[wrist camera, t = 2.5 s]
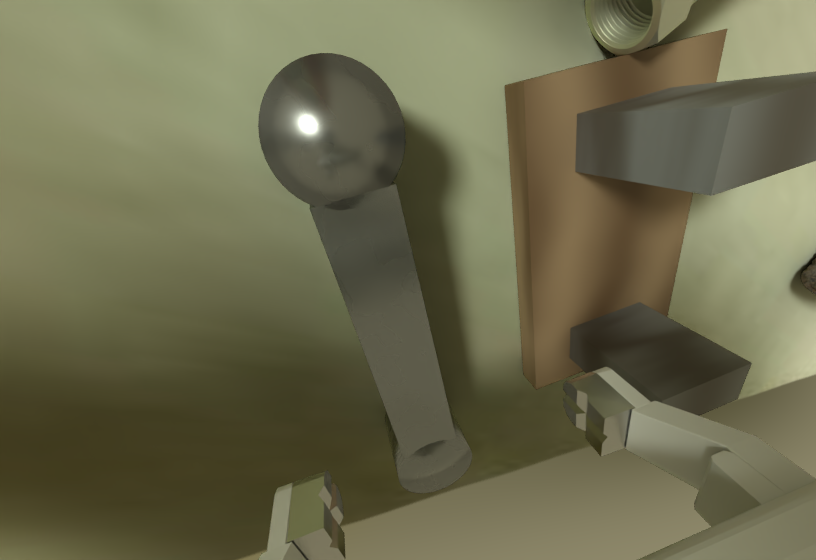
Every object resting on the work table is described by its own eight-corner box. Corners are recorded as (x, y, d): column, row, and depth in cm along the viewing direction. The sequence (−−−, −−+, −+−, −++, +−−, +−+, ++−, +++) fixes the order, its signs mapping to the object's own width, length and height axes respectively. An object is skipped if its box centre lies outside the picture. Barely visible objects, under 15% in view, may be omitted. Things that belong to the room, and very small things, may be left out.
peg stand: (523, 374, 23) (607, 474, 16) (504, 85, 14) (666, 51, 8) (643, 328, 24) (766, 404, 17) (692, 36, 15) (969, -28, 9)
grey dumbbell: (393, 444, 22) (408, 503, 19) (254, 87, 12) (229, 73, 9) (451, 421, 23) (476, 474, 20) (366, 62, 13) (386, 37, 9)
